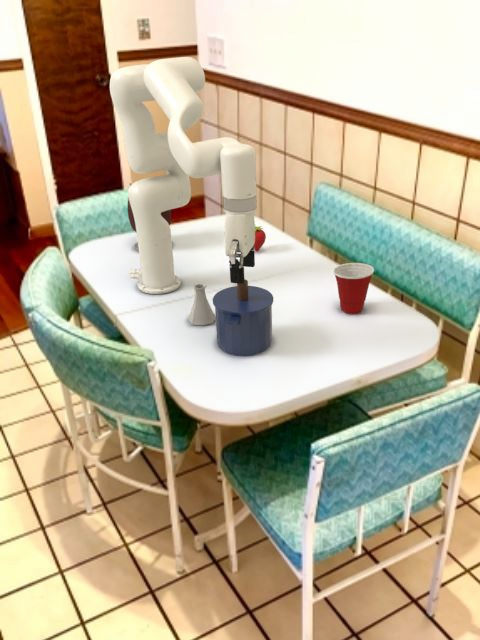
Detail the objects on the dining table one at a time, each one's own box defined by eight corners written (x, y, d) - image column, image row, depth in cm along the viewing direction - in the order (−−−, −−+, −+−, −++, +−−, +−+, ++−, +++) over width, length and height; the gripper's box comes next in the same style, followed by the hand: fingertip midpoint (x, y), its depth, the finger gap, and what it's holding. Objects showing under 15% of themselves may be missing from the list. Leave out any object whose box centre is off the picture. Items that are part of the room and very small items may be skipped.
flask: (188, 314, 172) (185, 280, 167) (215, 312, 173) (213, 279, 168) (188, 327, 166) (185, 292, 161) (216, 325, 167) (213, 291, 161)
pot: (207, 358, 153) (204, 316, 147) (228, 321, 168) (226, 281, 162) (262, 364, 150) (261, 321, 144) (279, 326, 166) (278, 286, 160)
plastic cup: (348, 296, 180) (350, 257, 174) (379, 308, 173) (382, 268, 167) (322, 309, 174) (324, 268, 167) (354, 322, 167) (356, 280, 161)
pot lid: (205, 314, 149) (203, 291, 146) (222, 287, 161) (221, 266, 158) (265, 319, 146) (265, 297, 143) (279, 292, 158) (279, 271, 155)
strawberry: (254, 257, 206) (253, 227, 200) (243, 249, 211) (242, 220, 206) (269, 253, 208) (269, 224, 203) (258, 246, 214) (258, 217, 209)
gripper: (233, 191, 149) (237, 259, 157) (212, 214, 134) (217, 288, 143) (265, 192, 147) (266, 261, 156) (246, 216, 133) (249, 291, 141)
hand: (243, 274), depth 149 cm, fingers open, 9 cm apart
